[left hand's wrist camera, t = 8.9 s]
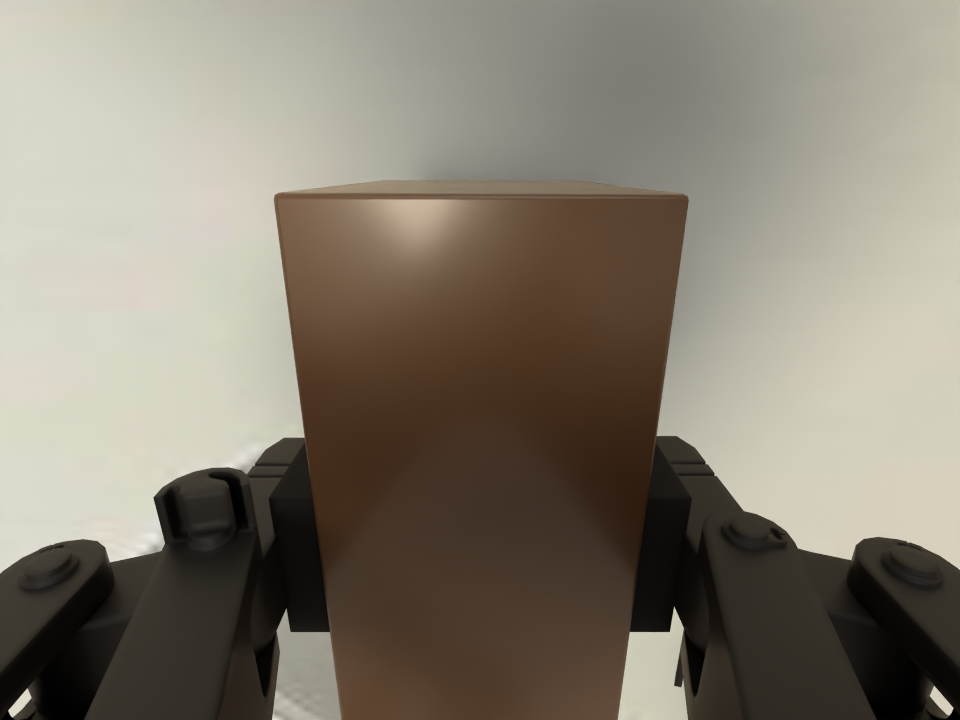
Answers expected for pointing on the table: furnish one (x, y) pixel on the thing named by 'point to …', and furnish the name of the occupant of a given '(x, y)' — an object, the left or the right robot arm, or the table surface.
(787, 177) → the table surface
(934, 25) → the table surface
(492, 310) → the bar
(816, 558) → the left robot arm
